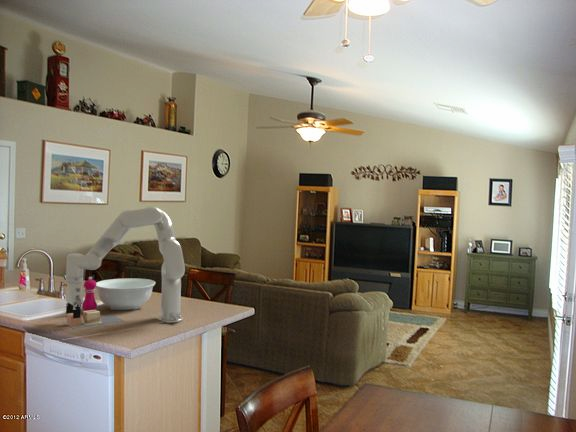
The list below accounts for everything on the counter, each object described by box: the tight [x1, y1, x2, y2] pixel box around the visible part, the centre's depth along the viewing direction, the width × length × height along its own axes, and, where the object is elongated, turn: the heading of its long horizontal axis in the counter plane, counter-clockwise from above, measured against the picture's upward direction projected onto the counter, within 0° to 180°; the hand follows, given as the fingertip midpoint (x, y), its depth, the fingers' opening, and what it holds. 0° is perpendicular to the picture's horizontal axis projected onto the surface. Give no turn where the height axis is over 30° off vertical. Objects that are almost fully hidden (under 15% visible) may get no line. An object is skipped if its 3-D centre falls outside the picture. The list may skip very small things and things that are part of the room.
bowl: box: [95, 277, 156, 311], centre depth 269 cm, size 32×32×15 cm
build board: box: [62, 315, 125, 330], centre depth 235 cm, size 14×25×1 cm, turn 132°
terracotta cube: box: [66, 313, 83, 327], centre depth 229 cm, size 5×5×5 cm
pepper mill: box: [81, 276, 98, 311], centre depth 252 cm, size 7×7×20 cm
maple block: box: [82, 309, 101, 324], centre depth 234 cm, size 6×6×5 cm
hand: (73, 315), depth 228 cm, fingers open, 9 cm apart
